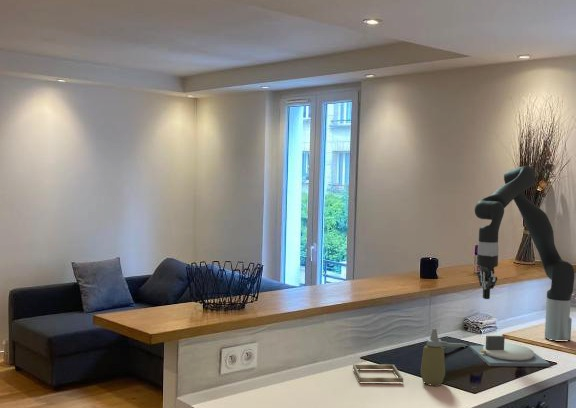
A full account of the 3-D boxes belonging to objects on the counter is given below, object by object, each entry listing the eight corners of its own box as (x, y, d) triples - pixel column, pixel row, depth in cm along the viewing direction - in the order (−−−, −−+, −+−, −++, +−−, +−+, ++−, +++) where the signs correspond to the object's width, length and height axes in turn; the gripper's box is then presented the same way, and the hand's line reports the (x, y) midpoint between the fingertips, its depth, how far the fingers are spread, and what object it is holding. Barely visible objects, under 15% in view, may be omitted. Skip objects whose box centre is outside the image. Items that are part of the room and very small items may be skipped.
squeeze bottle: (414, 380, 217) (417, 326, 216) (435, 378, 220) (438, 325, 219) (428, 388, 209) (430, 332, 208) (450, 386, 212) (452, 331, 211)
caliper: (436, 356, 247) (436, 339, 246) (433, 355, 248) (434, 338, 247) (468, 347, 260) (468, 331, 260) (465, 346, 261) (466, 330, 260)
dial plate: (524, 349, 258) (524, 345, 258) (549, 366, 236) (549, 362, 236) (469, 348, 257) (469, 345, 257) (489, 366, 235) (489, 362, 235)
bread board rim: (393, 370, 227) (393, 364, 227) (403, 384, 213) (403, 378, 213) (352, 370, 226) (353, 364, 226) (359, 383, 212) (359, 377, 212)
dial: (519, 346, 257) (520, 329, 256) (542, 360, 239) (543, 342, 238) (471, 346, 254) (472, 330, 254) (491, 360, 236) (492, 343, 236)
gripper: (471, 251, 255) (469, 295, 257) (486, 256, 242) (484, 302, 243) (489, 251, 257) (487, 295, 258) (505, 256, 243) (503, 302, 245)
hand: (486, 298), depth 251 cm, fingers closed
